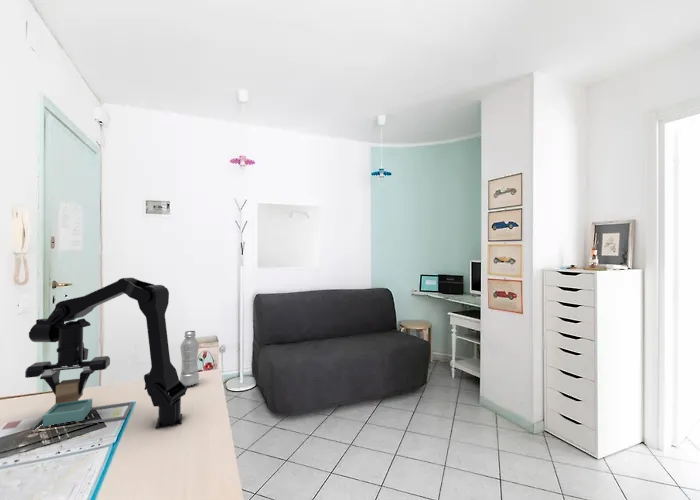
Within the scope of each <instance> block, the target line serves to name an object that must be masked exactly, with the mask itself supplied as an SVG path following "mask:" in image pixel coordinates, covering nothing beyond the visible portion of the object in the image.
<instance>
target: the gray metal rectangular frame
mask: <svg viewBox="0 0 700 500" xmlns="http://www.w3.org/2000/svg"><path fill="white" fill-rule="evenodd" d="M126 405H127V407H126V409H125V412H124V413H123V415H122V416H116V417H108V418H107V417H106V418H101V419H95V420H89V421H85V422H86V423H93V422H100V421H101V422H104V423H108V422H116V421H123V420H126V418H127V417H128V416H129V413H130V412H131V411H130V410H131V409H132V407H133V405H134V401H129V402H120V403H114V404H105V405H98V406H92V409H91V411H96V410H105V409H112V408H117V407H118V406H120V407H125V406H126ZM111 407H112V408H111ZM95 409H96V410H95ZM42 424H43V415H42V416H41V417H40V418H39V419H38V420H37V421H36V422H35V423H34V424H33V425H32V426H31V427H30V431H31V430H35V429H36V428H37V427H39V426H40V425H42ZM42 426H43V425H42Z"/></svg>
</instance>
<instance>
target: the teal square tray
mask: <svg viewBox="0 0 700 500" xmlns="http://www.w3.org/2000/svg"><path fill="white" fill-rule="evenodd" d="M92 407H93V398H87V399H78V400H77V401H73V402H65V403H58V404H55V403H54V405H52V406H51V407H50V409H48V410H47V411H46V412H45V413H44V414H43V415H42V416H43V425H42V427H43V426H44V427H47V426H49V425H53V424H57V425H60V424H59V423H64V422H71V421H81V422H84V420H85V418H86V417H87V416H88V414H89V413H90V412H91V411H92V410H91V409H92ZM90 410H91V411H90ZM71 423H72V422H71ZM64 424H65V423H64ZM53 426H54V425H53Z"/></svg>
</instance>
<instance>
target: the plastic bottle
mask: <svg viewBox="0 0 700 500" xmlns="http://www.w3.org/2000/svg"><path fill="white" fill-rule="evenodd" d="M199 347H200V344H199V341H198V339H197V338H196V330H187V331H184V339H183V341H182V343H181V344H180V354H181V369H180V370H181V371H180V375H179V380H180V381H181V382H182V384H183V385H184V386H185V387H191V385H192V386H195V385H197V384H198V382H199V378H200V375H199V368H198V367H199V366H198V358H199V357H198V355H199V350H200V349H199ZM196 383H197V384H196ZM194 384H195V385H194Z"/></svg>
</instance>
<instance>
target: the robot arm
mask: <svg viewBox="0 0 700 500" xmlns="http://www.w3.org/2000/svg"><path fill="white" fill-rule="evenodd" d="M122 295H126V296H127V297H129V298H130V299H132V300H135V301H136V302H137V304H138V308H139V310H140V312H141V313H142V314H143V315H144V317H145V321H146V328H147V339H148V346H149V357H150V364H151V365H150V366H151V367H150V371H149V372H148V373H146V374H144V375H143V381H144V385H145V386H144V391H146V392H147V396H149V397H150V399H151V403H152V406H153V407H158V417H157V421H156V423H155V429H160V428H167V427H174V426H179V425H181V424H182V422H183V413H181V409H182V406H181V403H182V402H181V401H182V397H183V396H185V395H186V392H187V390H188V387H187V386H184V385H183V384H182V382H181V381H180V377H179V376H178V371H177V369H176V367H175V366H174V365H173V364H172V362H171V357H170V348H169V339H168V333H167V332H168V331H167V321H166V311H167V309H168V306H169V299H170V291H169V289H168V287H165V285H163V284H154V283H150V282H146V281H143V280H139V279H137V278H134V277H121V278H119V279H118V280H116V281H114V282H112V283H110V284H107V285H106V286H103V287H101V288H98V289H97V290H94V291H92V292H90V293H87V294H85V295H83V296H78V297H74V298H70V299H66V300H61V301H58V302H57V303H56V304H55V305H54V306H55V307H54V309H53V310H52V312H51V313H50V314H49V316H48V317H47V318H39V319H36V320H35V324H34V325H32V326H31V328H30V330H29V332H28V338H29V340H30V341H31V342H34V343H56V342H57V348H56V353H57V362H56V363H52V362H51V361H40V362H38V361H37V362H35V363H33V364H31V365H30V366H27V367H26V368H25V375H24V377H25V378H27V379H28V378H39V379H40V380H44V381H45V382H46V384H47V385H48V386H49V387H50V389H51V390H52V391H51V392H52V393H53V394H54V395H55V397H56V386H57V385H58V384H59V383H60V382H61V381H60V375H61V371H67V370H76V369H77V370H78V369H82V371H81V372H80V374H79V379H80V382H79V395H81V394H82V392H83V393H84V389H85V387H86V384H87V382H88V379H89V378H90V376H91V375H92V374H94V373H95V372H96V371H104V370H107V368H108V367H109V366H110V364H111V358H110V356H108V355H106V356H105V355H103V356H96V357H94V358H92V359H91V360H88V357H89V349H88V348H86V347H85V343H84V328H87V327H90V326H91V325H92V324H91V323H90V322H89V321H87V320H86V318H83V317H85V316H87V315H88V314H89V313H91V312H93V310H94V309H95V308H96V307H99V306H100V305H103V304H104V303H106V302H109V301H111V300H114V299H115V298H118V297H120V296H122Z"/></svg>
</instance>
